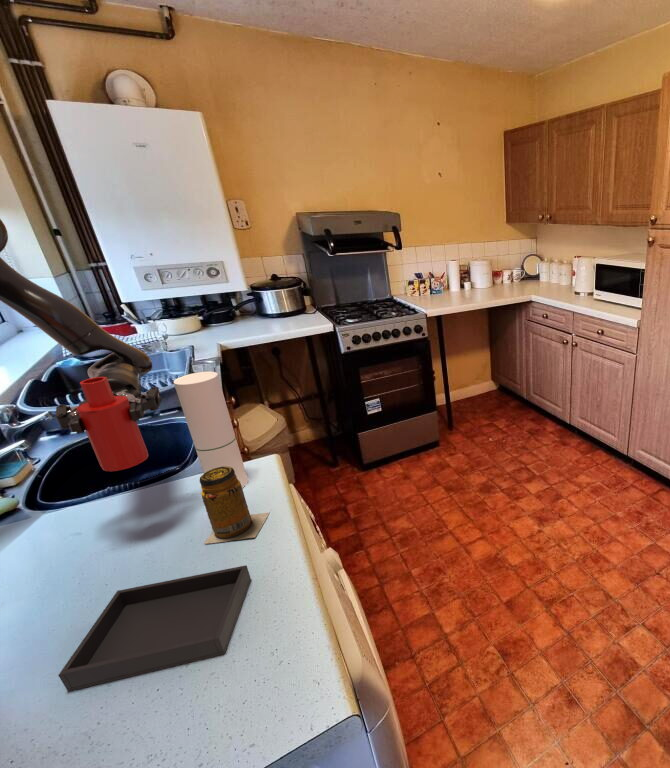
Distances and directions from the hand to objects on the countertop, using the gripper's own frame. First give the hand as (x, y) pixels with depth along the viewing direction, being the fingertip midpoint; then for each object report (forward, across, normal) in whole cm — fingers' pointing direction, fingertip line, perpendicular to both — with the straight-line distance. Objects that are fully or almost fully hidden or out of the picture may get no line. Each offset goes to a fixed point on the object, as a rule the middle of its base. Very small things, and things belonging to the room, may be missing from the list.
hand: (107, 422), depth 70 cm
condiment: (+6, +13, +24) cm, 28 cm away
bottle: (-2, 0, +8) cm, 9 cm away
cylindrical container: (-11, +13, +24) cm, 29 cm away
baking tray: (+25, +2, +24) cm, 34 cm away
